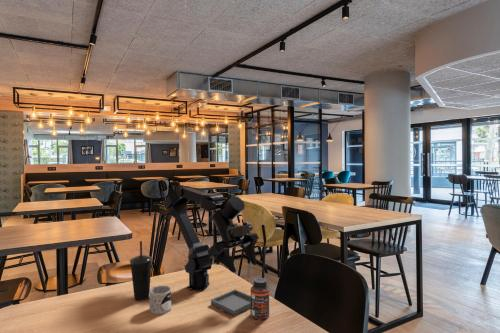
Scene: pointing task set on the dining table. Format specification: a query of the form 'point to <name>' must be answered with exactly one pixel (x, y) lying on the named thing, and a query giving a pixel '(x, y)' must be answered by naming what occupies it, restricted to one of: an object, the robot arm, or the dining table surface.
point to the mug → (160, 300)
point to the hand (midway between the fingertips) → (245, 268)
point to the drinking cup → (141, 275)
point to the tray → (232, 302)
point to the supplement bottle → (260, 299)
